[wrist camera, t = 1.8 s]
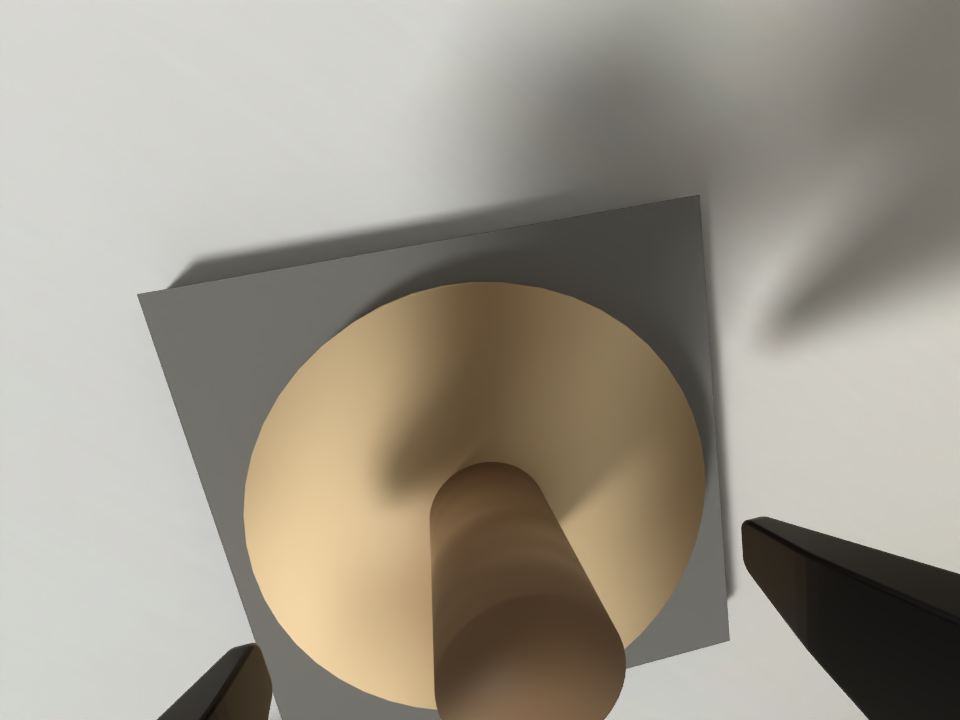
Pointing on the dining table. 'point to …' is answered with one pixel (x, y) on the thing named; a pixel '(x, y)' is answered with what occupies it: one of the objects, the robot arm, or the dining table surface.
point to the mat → (389, 276)
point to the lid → (476, 502)
